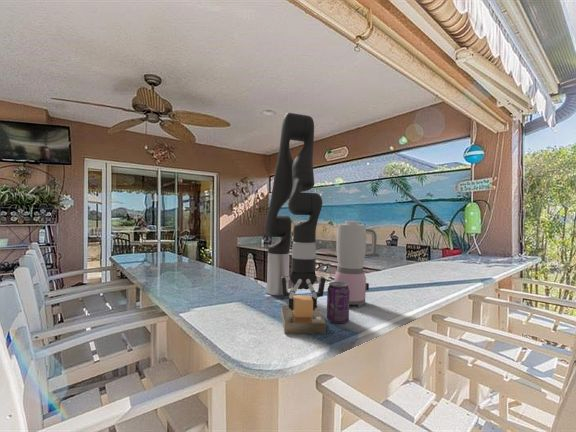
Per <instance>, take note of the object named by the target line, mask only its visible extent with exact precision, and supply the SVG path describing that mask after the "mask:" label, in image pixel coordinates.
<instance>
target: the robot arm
mask: <svg viewBox="0 0 576 432" xmlns="http://www.w3.org/2000/svg"><path fill="white" fill-rule="evenodd" d="M280 131H281V132H280V141H279V148H278V149H279V150H278V158H277V162H276V166H275V171H274V177H273V183H272V190H271V198H270V202H269V206H268V210H267V214H266V218H265V222H264V232H265V235H266V236H268V237H271V238H274V237H275V238H280V239H279V240H278V241H276V242H275V243H273V244H270V245H269V246H268V248H267V268H266V269H267V270H266V271H267V272H266V273H267V275H266V278H267V279H266V294H268V295H271V296H283V297H285V298H288V302H287V303H288V304H287V306H289V309H291V310H293V296H294V295H295V294H296V292H297V291H298V290H309V291H310V294H311V295H312V296H311V298H312V300H313V310H315V309H316V307H317V308H318V306H317V305H318V298H321V297H323V296H324V291H325V285H326V284H325V283H326V278H325V277H324V276H323V275H321V276H318V275H317V273H316V267H317V266H316V263H317V262H316V260H317V246H316V239H317V237H316V233H317V226H318V220H319V217H320V215H321V211H322V207H323V199H322V196H321V195H320V194H319V193H317V192H307V191H309V190H312V189H313V187H314V186H315V176H314V175H315V174H314V165H313V164H314V162H313V161H314V160H313V159H314V157H313V156H314V144H315V122H314V118H313V117H312V116H310V115H305V114H300V113H294V112H286V113H285V114H284V117H283V119H282V122H281V130H280ZM291 141H294V142H295V141H296V142H303V146H302V149H301V150H300V151H299V153H298V154H297V156H295V158H294V160H293V157H292V154H291V151H290V150H291V149H290V143H291ZM287 202H288V204H287V208H288V210H289V212H290V213H291V214H292V215H295V216H308V219H307V220H306V221H301V222H297V223H295V224H294V225H293V228H292V219H291V217H290V216H288V215H282V214H281V215H280V214H279V212H280V210H281V208H282V207H283V206H284V205H285V204H286V203H287ZM292 229H293V231H292ZM292 234H293V235H292ZM291 237H292V238H291ZM291 239H292V247H291ZM290 248H291V270H290ZM290 271H291V272H290ZM289 281H291V283H292V286H291V288H290V290H289ZM316 281H317V284H318V290H317V292H316V289H315V288H314V286H313V285H314V283H315V282H316Z"/></svg>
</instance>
